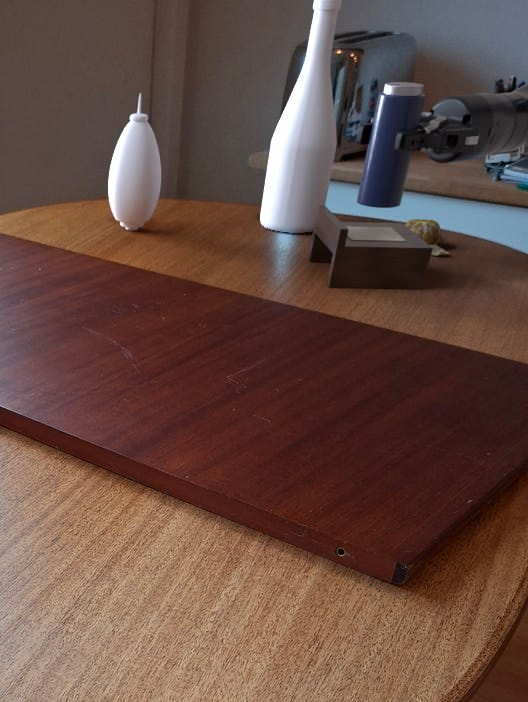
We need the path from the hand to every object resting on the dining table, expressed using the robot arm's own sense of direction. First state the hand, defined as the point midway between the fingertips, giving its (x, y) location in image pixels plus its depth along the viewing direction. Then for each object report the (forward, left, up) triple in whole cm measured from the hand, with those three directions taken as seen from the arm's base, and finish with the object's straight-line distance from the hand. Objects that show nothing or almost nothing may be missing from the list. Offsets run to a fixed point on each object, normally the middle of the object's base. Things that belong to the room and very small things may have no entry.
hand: (378, 138), depth 107 cm
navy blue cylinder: (-2, -1, -7) cm, 8 cm away
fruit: (-13, -14, -16) cm, 25 cm away
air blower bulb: (+28, -23, -16) cm, 40 cm away
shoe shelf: (-2, -1, -16) cm, 16 cm away
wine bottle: (+3, -26, -16) cm, 31 cm away
